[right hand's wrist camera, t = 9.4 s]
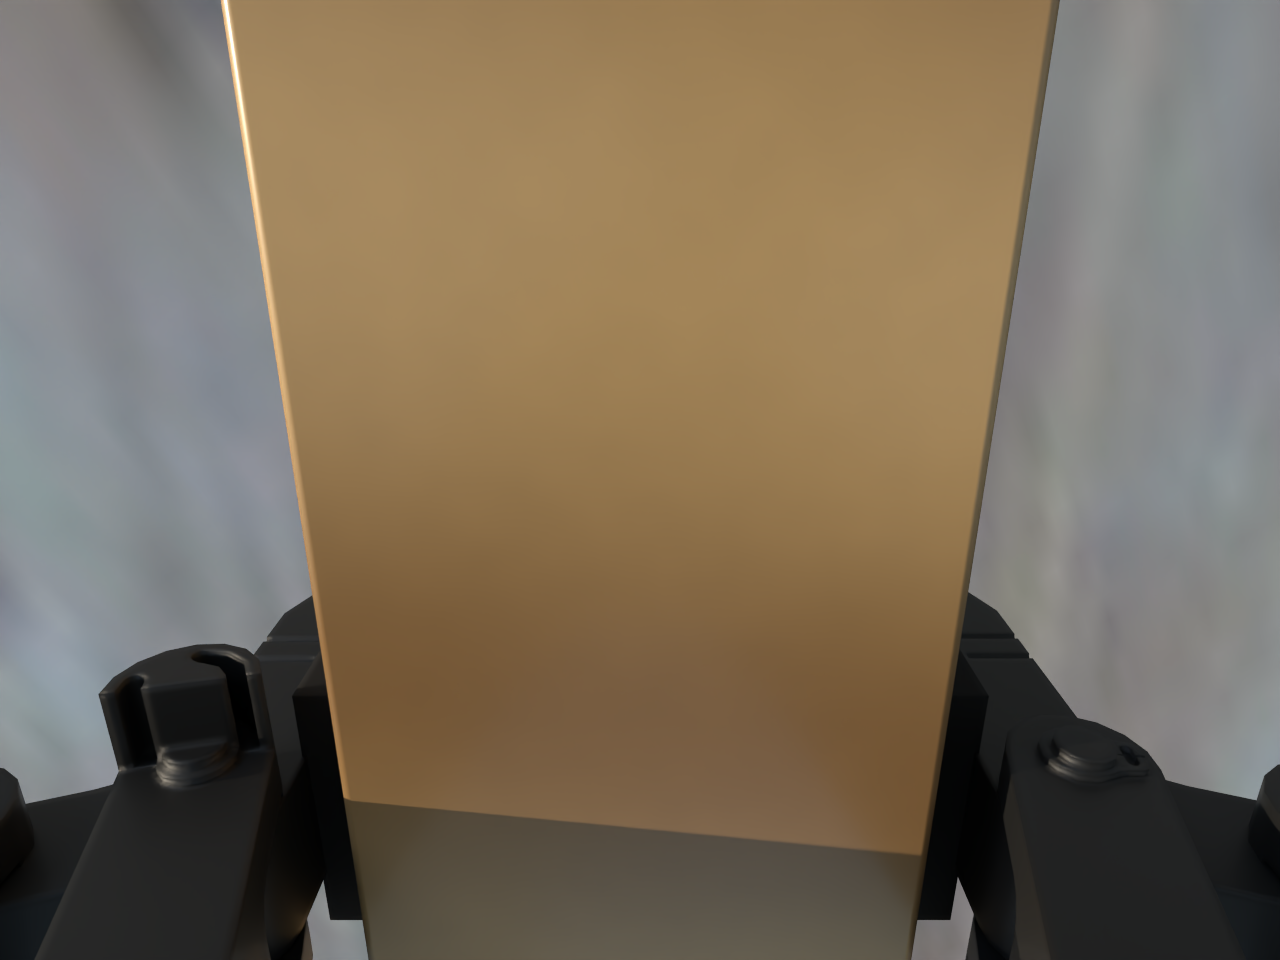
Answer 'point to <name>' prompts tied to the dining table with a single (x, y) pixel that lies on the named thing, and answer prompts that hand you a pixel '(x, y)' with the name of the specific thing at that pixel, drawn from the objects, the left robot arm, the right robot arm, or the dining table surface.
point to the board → (640, 445)
